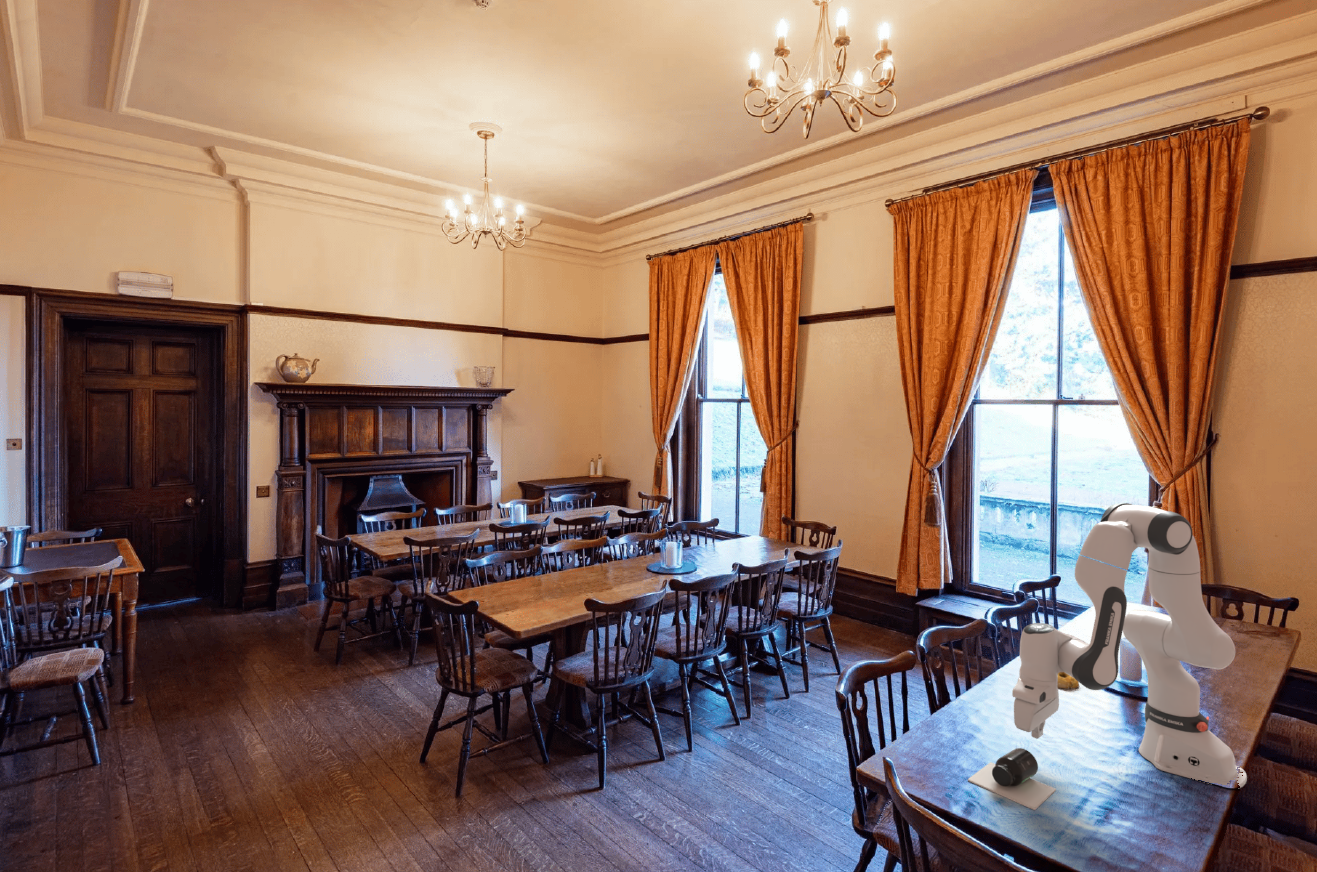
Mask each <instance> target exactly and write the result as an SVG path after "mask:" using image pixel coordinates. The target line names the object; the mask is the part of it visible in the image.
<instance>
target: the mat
mask: <svg viewBox="0 0 1317 872" xmlns="http://www.w3.org/2000/svg"><path fill="white" fill-rule="evenodd" d="M995 764H996V763H995V762H991V761H990V762H988V763H987V764H986V765H985V766H983V767H982V768H980V769H979V770H978V771H976V772H975V773H974V774H973V775H971V776H970V777H969V778H967V781H968V782H969V783H973V785H974V784H975V785H976V786H978V787H981V788H983V789H986V790H988V791H990V792H992V793H994V794H997V795H999V796H1002V797H1003V798H1005V799H1009V800H1011V801H1013V802H1014V803H1017V804H1020V805H1021V806H1025V808H1028V809H1031V810H1034V811H1036V810H1037V809H1038V808H1039V807H1040V806H1041V805H1043V803H1044V802H1046V801H1047V800H1048V799H1049V798H1050V797H1051V796H1052V795H1053V794H1054V793H1055V792H1056V791H1057V788H1055V787H1052V786H1050V785H1049V784H1048V785H1047V784H1045V783H1042V782H1041V781H1039V780H1036V779H1033V778H1032V777H1031V778H1029V779H1028V780H1026V781H1025V782H1023V783H1021V784H1020V785H1018V786H1010V785H1009V786H1006V787H1005V786H1001V785H999V784H998V783H997V782H996V781H995V780H994V778H993V776H992V770H993V768H994V767H995Z"/></svg>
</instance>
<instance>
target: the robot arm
mask: <svg viewBox="0 0 1317 872" xmlns="http://www.w3.org/2000/svg"><path fill="white" fill-rule="evenodd" d="M1138 548H1144V549H1147V550H1148V558H1147V559H1148V562H1147V564H1148V565H1147V567H1148V568H1147V569H1148V570H1147V571H1148V591H1149V594H1150V597H1151V598H1152V599H1153V600H1154V601H1155V602H1156V603H1157V604H1159V606H1161V607H1162V608H1163V609H1165V612H1167V614H1165V613H1161V612H1157V611H1153V610H1145V609H1134V610H1131V611H1130V612H1128V613H1127V607H1128V605H1127V603H1128V601H1127V596H1126V594H1125V584H1126V583H1125V582H1126V576H1127V573H1128V570H1129V568H1130V564H1131V560H1132V556H1133V553H1134V552H1135V550H1137V549H1138ZM1198 549H1199V548H1198V545H1197V541H1196V539H1195V536H1194V534H1193V528H1192V524H1191V523H1190V521H1189V520H1188V519H1187V518H1186V517H1184V516H1182V515H1181V514H1179V513H1177V512H1174V511H1170V510H1165V509H1161V508H1157V507H1155V506H1150V505H1140V504H1132V503H1127V502H1126V503H1125V502H1122V503H1119V502H1118V503H1114V504H1112V505H1110V506H1109V507H1108V508H1107V509H1106V510H1105V511H1104V512H1103V514H1102V516H1101V518H1100V522H1097V523H1096V524H1095V525H1094V526H1092V528H1091V530H1090V532H1089V533H1088V535H1087V536H1086V539H1085V541H1084V542H1083V545H1082V547H1081V550H1080V552H1079V555H1078V558H1077V560H1076V563H1075V566H1074V567H1075V568H1074V578H1075V581H1076V583H1077V584H1078V587H1079V588H1080V590H1082V591H1083V592H1084V593H1085V594H1086V596H1088V598H1089V600H1090V602H1091V603H1092V605H1093V607H1094V611H1095V617H1094V618H1095V619H1094V623H1093V628H1092V633H1091V637H1090V643H1088V642H1086V641H1084V640H1082V639H1080V638H1078V637H1076V636H1074V635H1072V634H1068V633H1064V632H1062V631H1060V630H1058V629H1057V628H1055V627H1054V626H1053V625H1052V624H1049V623H1045V622H1044V623H1043V622H1042V623H1041V622H1034V623H1030V624H1028V625H1026V626H1024V628H1023V629H1022V632H1021V635H1020V643H1019V658H1020V668H1019V670H1018V671H1019V676H1018V679H1017V682H1016V684H1015V686H1014V687H1013V688H1012V695H1011V696H1012V697H1013V698H1014V702H1013V721H1014V722H1013V723H1014V725H1015V727H1016V729H1017V730H1020V731H1023V732H1026V733H1031V737H1032V738H1034V739H1036V740H1037V739H1040V737H1042V736H1044V729H1045V725H1046V720H1047V719H1049V718H1050V717H1052V716H1053V715H1054V714H1056V713H1057V711H1058V710H1059V706H1060V698H1059V695H1060V694H1059V688H1058V687H1057V686H1058V673H1059V672H1065V673H1066V674H1068V675H1070V676H1071V677H1073V678H1075V679H1076V680H1077V681H1078V682H1079V684H1080V685H1082V686H1083V687H1084V688H1086V689H1088V690H1090V691H1101V690H1104V689H1107V688H1109V687H1110V686H1111V685H1113V684H1114V683H1115V681H1116V680H1117V678H1118V674H1119V650H1120V645H1121V641H1122V637H1123V636H1124V638H1125V639H1126V640H1127V641H1128V642H1129V643H1130V644H1131V646H1133V647H1134V649H1135V650H1136V652H1137V653H1138V655H1139V656H1140V658H1141V660H1142V662H1143V666H1144V668H1145V670H1146V676H1147V701H1145V705H1144V718H1145V719H1144V720H1145V727H1144V732H1143V738H1142V739H1141V742H1140V745H1139V748H1138V752H1139V754H1140V755H1141V757H1143V758H1144V759H1146V760H1148V761H1149V762H1151V763H1152V764H1153V765H1154V766H1155V768H1157V769H1158V770H1160V771H1162V772H1163V771H1164V772H1165V773H1169V774H1172V775H1173V774H1174V775H1176V776H1180V777H1184V778H1188V779H1191V778H1192V779H1191V780H1194V779H1195V781H1198V780H1202V781H1205V782H1209V783H1218V784H1222V785H1227V783H1230V782H1229V781H1230V780H1238V781H1237V783H1239V784H1238V785H1239V786H1240V788H1239V789H1241V788H1243V787H1244V786H1245V785H1246V784H1247V782H1248V781H1247V780H1248V775H1247V773H1246V771H1245V770H1244V769H1243V768H1242V767H1240V768H1238V769H1240V772H1243V773H1239V774H1238V773H1237V772H1238V771H1237V770H1236V769H1237V767H1239V766H1238V765H1237V764H1236V759H1235V755H1234V753H1233V750H1232V749H1231V748H1230V747H1229V746H1228V745H1227V744H1226V743H1225V742H1224V741H1222V740H1221V739H1220V738H1219V737H1217V736H1216V735H1215V734H1214V733H1213V732H1211V731H1210V730H1209V725H1210V724H1209V723H1210V717H1209V716H1206V717H1205V715H1203V714H1202V713H1201V712H1200V702H1201V701H1200V698H1201V697H1200V696H1201V687H1200V685H1199V684H1200V683H1198V680H1197V679H1196V678H1194V676H1193V675H1191V674H1190V673H1189V672H1188V671H1187V670H1186V669H1185V667H1184V666H1183V665H1182V663H1181V662H1183V663H1186V664H1189V665H1193V666H1196V667H1200V668H1207V669H1213V670H1214V669H1215V670H1222V669H1225V668H1227V667H1229V666H1230V665H1231V664H1232V663H1233V661H1234V659H1235V656H1236V646H1235V643H1234V641H1233V640H1232V638H1231V637H1230V635H1229V634H1228V633H1226V631H1224V630H1223V629H1222V628H1221V627H1220V626H1219V625H1218V624H1217V623H1216V621H1215V620H1214V619H1213V617H1212V616H1211V615H1210V613H1209V611H1208V609H1207V608H1206V605H1205V602H1204V599H1203V592H1202V583H1201V581H1202V580H1201V563H1200V562H1201V560H1200V554H1199V550H1198ZM1122 634H1123V636H1122ZM1237 775H1238V776H1237ZM1242 775H1243V776H1242ZM1236 777H1239V778H1236ZM1234 778H1235V779H1234ZM1205 782H1204V783H1205ZM1209 783H1208V784H1209ZM1228 785H1229V784H1228Z"/></svg>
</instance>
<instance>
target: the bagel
mask: <svg viewBox="0 0 1317 872" xmlns="http://www.w3.org/2000/svg"><path fill="white" fill-rule="evenodd" d="M1057 687H1058V689H1065V690H1066V689H1067V690H1068V689H1073V690H1074V689H1078V688H1079V687H1080V683H1079V682H1078V681H1077V680H1076V679H1075V678H1073V677H1071V676H1070V675H1068V674H1066V673H1065V672H1059V673H1058V686H1057Z"/></svg>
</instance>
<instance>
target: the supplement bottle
mask: <svg viewBox="0 0 1317 872" xmlns="http://www.w3.org/2000/svg"><path fill="white" fill-rule="evenodd" d="M994 764H995V767H994V768H993V770H992V776H993V778H994V780H995V781H996V782H997V783H998V784H999V785H1001V786H1005V787H1006V786H1009V785H1010V786H1018V785H1020V784H1021V783H1023V782H1025V781H1026V780H1028V779H1029V778H1031V779H1032V777H1034V776H1035V775H1037V772H1038V771H1039V764H1038V761H1037V759H1036V757H1035V756H1034V755H1033V754H1032V752H1030V751H1029V750H1028V749H1025V748H1022V747H1016V748H1015V749H1013V750H1011V751H1009V752H1007V753H1005V754H1004V755H1002V756H1001V757H1000V758H998V759H997V760H996V761H995V763H994Z"/></svg>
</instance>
